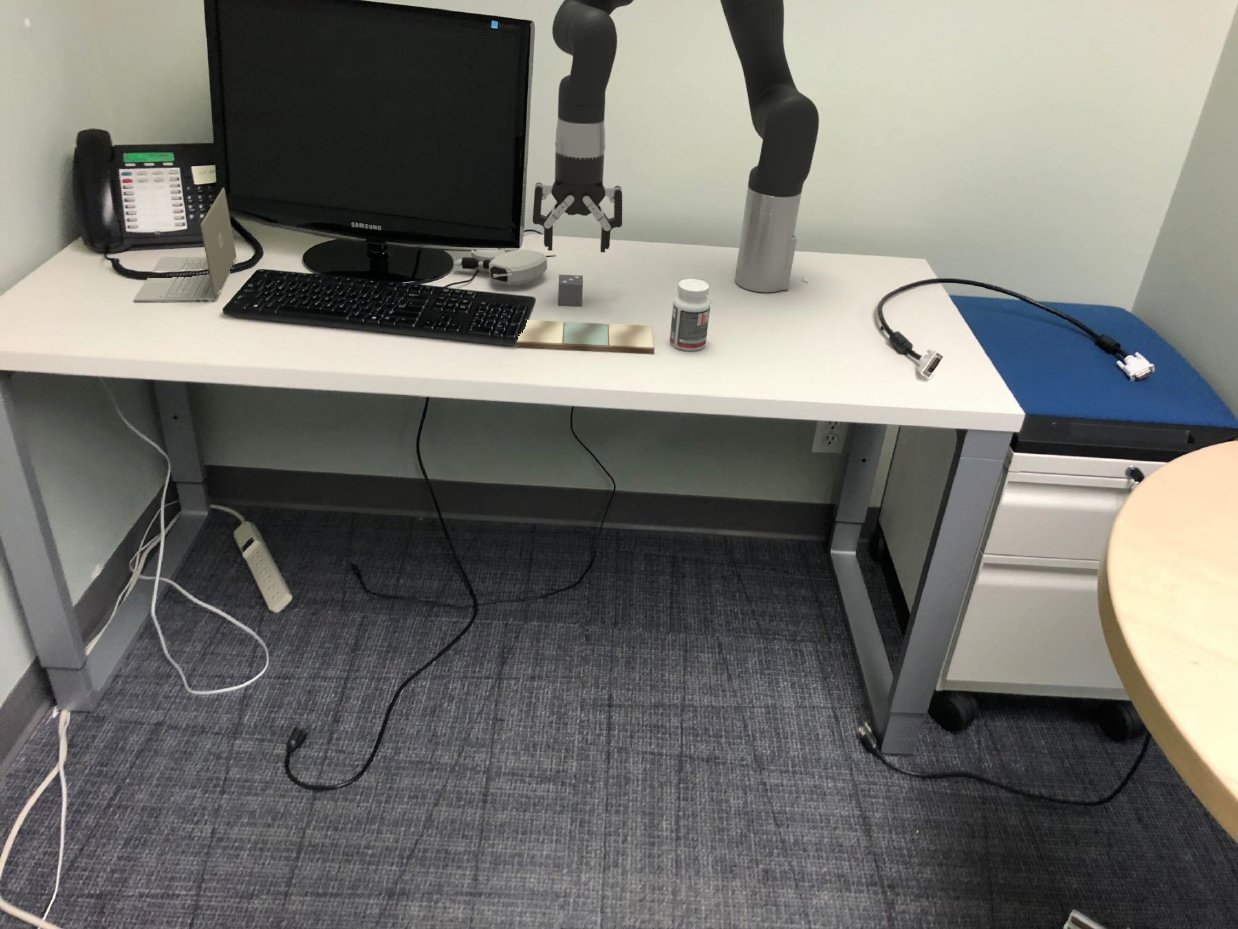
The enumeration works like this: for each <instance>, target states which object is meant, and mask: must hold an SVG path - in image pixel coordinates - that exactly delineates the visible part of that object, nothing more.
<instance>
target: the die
mask: <svg viewBox="0 0 1238 929" xmlns="http://www.w3.org/2000/svg"><path fill="white" fill-rule="evenodd" d="M583 292H584V275H580V274H578V275H577V274H558V292H557V293H558V294H557V295H558V296H557V307H573V308H574V307H575V308H576V307H577V308H582V307H583V294H584V293H583Z"/></svg>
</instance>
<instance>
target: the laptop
mask: <svg viewBox="0 0 1238 929" xmlns="http://www.w3.org/2000/svg"><path fill="white" fill-rule="evenodd" d="M199 224H200V226H199V227H200V231H201V236H202V241H203V247H204V252H205V256H161V257H160V259H158V261H157V263H156V264H155V266H154V267H153V269H152V271H181V270H182V269H183V270H184V269H185V270H184V271H186V270H189V269H191V270H193V271H194V270H195V269H196V270H197V269H198V270H199V269H209V274H207V275H199V276H198V275H197V276H192V277H185V278H184V277H178V278H177V277H172V278H148V277H147V279H146V280H145V281H144V283H143V284H142V285H141V288H140V289H139V291H137V294H136V295H135V296H134V299H133V300H132V301H133V302H153V303H159V302H160V303H216V302H217V301H218V300H219V297H220V295H221V294H222V292H223V289H224V287H225V285H226V283H227V281H228V278H229V276H230V274H231V273H230V269H231V267H232V265H233V266H234V265H235V263H237V253H236V246H235V239H234V234H233V230H232V223H231V219H230V213H229V206H228V201H227V196H226V190H225V187H222V188H221V189H220V192H219V194H217V196H216V198H215V200H214V202H213V203H212V204H211V207H210V208H209V210H208V212H207V213H206V215H205V216H204V217H203V220H202V221H201V222H200V223H199ZM196 270H195V271H196Z"/></svg>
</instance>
